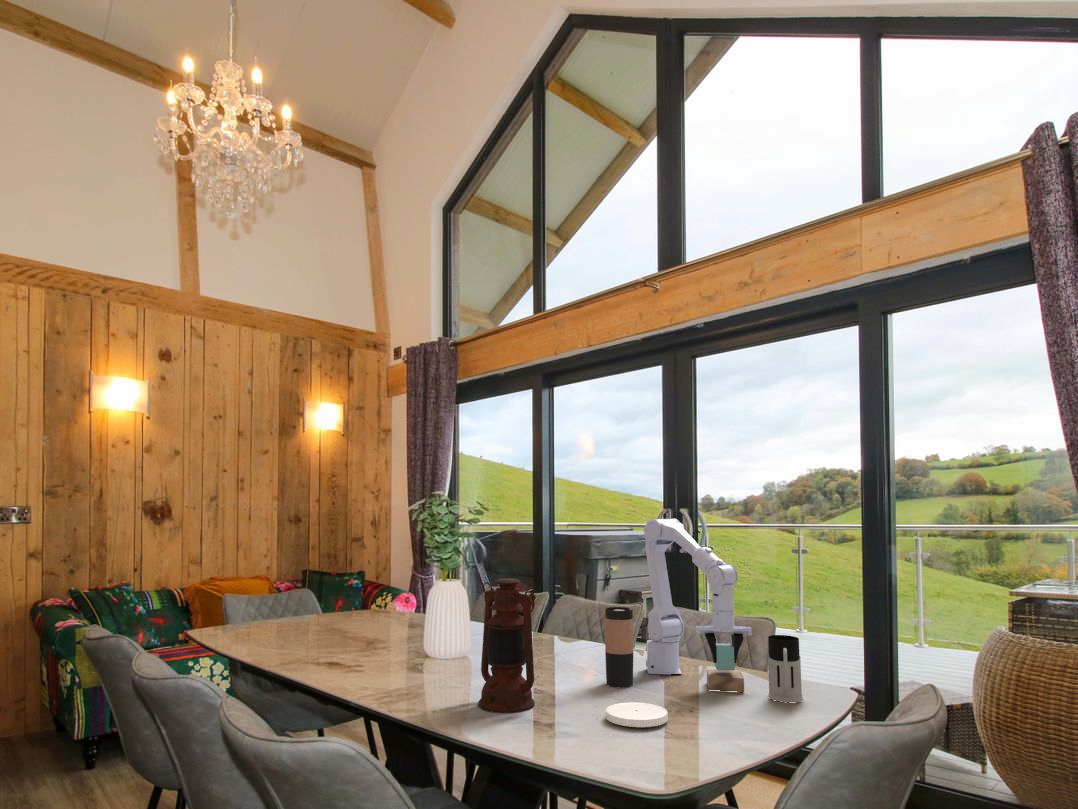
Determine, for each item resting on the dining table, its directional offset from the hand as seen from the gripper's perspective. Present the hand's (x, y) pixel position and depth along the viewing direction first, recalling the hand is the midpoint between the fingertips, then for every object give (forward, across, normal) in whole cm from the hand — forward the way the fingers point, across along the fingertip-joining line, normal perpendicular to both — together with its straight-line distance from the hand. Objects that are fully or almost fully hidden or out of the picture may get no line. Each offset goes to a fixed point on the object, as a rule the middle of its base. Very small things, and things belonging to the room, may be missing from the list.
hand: (724, 662), depth 199 cm
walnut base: (+7, 0, 0) cm, 7 cm away
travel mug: (+7, -28, +1) cm, 29 cm away
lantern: (+7, -56, -22) cm, 61 cm away
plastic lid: (+7, -25, -32) cm, 41 cm away
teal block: (+2, 0, 0) cm, 2 cm away
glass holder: (+7, +13, -12) cm, 19 cm away
